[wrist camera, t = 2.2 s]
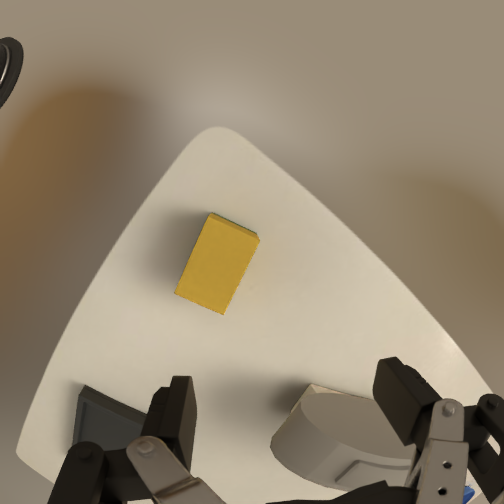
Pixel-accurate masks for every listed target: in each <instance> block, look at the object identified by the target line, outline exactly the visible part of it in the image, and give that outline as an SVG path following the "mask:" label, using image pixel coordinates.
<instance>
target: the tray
mask: <svg viewBox="0 0 504 504" xmlns="http://www.w3.org/2000/svg"><path fill="white" fill-rule="evenodd" d="M146 416H147V414H145V413H142V412H140V411H138V410H135V409H133V408H131V407H129V406H126V405H124V404H122V403H120V402H118V401H116V400H114V399H112V398H110V397H108V396H106V395H104V394H102V393H100V392H98V391H96V390H94V389H92V388H90V387H88V386H86V385H85V386H84V388H83V389H82V391H81V392H80V394H79V397H78V403H77V410H76V417H75V425H74V434H73V444H72V446H73V445H75V444H77V443H79V442H83V441H90V442H94V443H97V444H98V445H100V446H101V448H102V449H103V451H109V450H119V449H124V448H127V446H128V444H129V443H130V442H131V441H132V440H134V439H136V438H138V437H140V434H141V431H142V428H143V425H144V422H145V419H146Z"/></svg>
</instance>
